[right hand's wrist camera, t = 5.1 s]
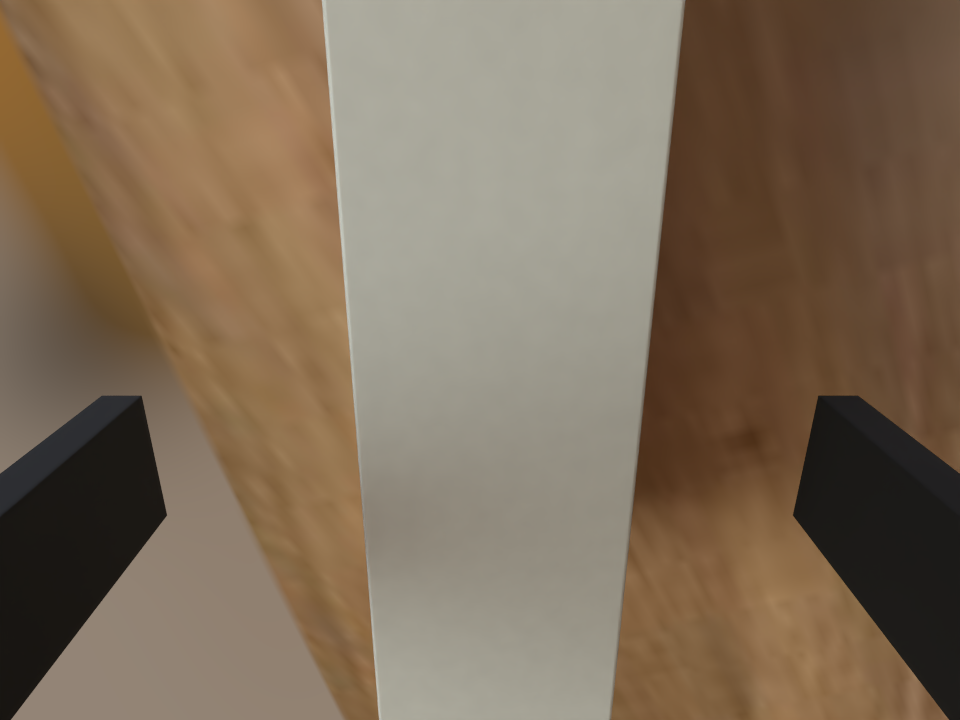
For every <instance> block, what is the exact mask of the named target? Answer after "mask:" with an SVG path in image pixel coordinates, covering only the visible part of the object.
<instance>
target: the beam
mask: <svg viewBox="0 0 960 720" xmlns="http://www.w3.org/2000/svg"><path fill="white" fill-rule="evenodd" d="M322 7H323V19H324V32H325V44H326V57H327V69H328V82H329V95H330V107H331V120H332V132H333V145H334V158H335V170H336V183H337V195H338V208H339V220H340V233H341V246H342V258H343V271H344V283H345V296H346V308H347V321H348V334H349V346H350V359H351V371H352V384H353V396H354V409H355V422H356V434H357V447H358V459H359V472H360V485H361V497H362V510H363V522H364V535H365V547H366V560H367V573H368V585H369V598H370V610H371V623H372V635H373V648H374V661H375V673H376V686H377V698H378V711H379V720H611V715H612V705H613V695H614V686H615V676H616V666H617V657H618V647H619V637H620V628H621V618H622V608H623V599H624V589H625V579H626V570H627V560H628V550H629V541H630V531H631V521H632V512H633V502H634V492H635V483H636V473H637V463H638V454H639V444H640V434H641V425H642V415H643V405H644V396H645V386H646V376H647V367H648V357H649V347H650V338H651V328H652V318H653V309H654V299H655V289H656V280H657V270H658V260H659V251H660V241H661V231H662V222H663V212H664V203H665V193H666V183H667V174H668V164H669V154H670V145H671V135H672V125H673V116H674V106H675V96H676V87H677V77H678V67H679V58H680V48H681V38H682V29H683V19H684V9H685V0H322Z"/></svg>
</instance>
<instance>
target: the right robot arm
mask: <svg viewBox="0 0 960 720" xmlns="http://www.w3.org/2000/svg"><path fill="white" fill-rule="evenodd" d="M166 516H167V513H166V509H165V504H164V499H163V494H162V490H161V485H160V480H159V476H158V471H157V467H156V462H155V457H154V452H153V447H152V443H151V438H150V433H149V429H148V424H147V419H146V415H145V410H144V405H143V400H142V396H101V397H100V398H98V399H97V400H96V401H95V402H93V403H92V404H91V405H89V406H88V407H87V408H85V409H84V410H83V411H82V412H80V413H79V414H78V415H76V416H75V417H74V418H72V419H71V420H70V421H68V422H67V423H66V424H65V425H63V426H62V427H61V428H59V429H58V430H57V431H55V432H54V433H53V434H52V435H50V436H49V437H48V438H46V439H45V440H44V441H42V442H41V443H40V444H39V445H37V446H36V447H35V448H33V449H32V450H31V451H29V452H28V453H27V454H25V455H24V456H23V457H22V458H20V459H19V460H18V461H16V462H15V463H14V464H12V465H11V466H10V467H9V468H7V469H6V470H5V471H3V472H2V473H1V474H0V720H11V719H12V717H13V716H14V715H15V714H16V712H17V711H18V710H19V708H20V707H21V706H22V704H23V703H24V702H25V700H26V699H27V698H28V697H29V695H30V694H31V693H32V691H33V690H34V689H35V687H36V686H37V685H38V683H39V682H40V681H41V680H42V678H43V677H44V676H45V674H46V673H47V672H48V670H49V669H50V668H51V666H52V665H53V664H54V663H55V661H56V660H57V659H58V657H59V656H60V655H61V653H62V652H63V651H64V649H65V648H66V647H67V645H68V644H69V643H70V642H71V640H72V639H73V638H74V636H75V635H76V634H77V632H78V631H79V630H80V629H81V627H82V626H83V624H84V623H85V622H86V621H87V619H88V618H89V617H90V615H91V614H92V613H93V611H94V610H95V609H96V608H97V606H98V605H99V604H100V602H101V601H102V600H103V598H104V597H105V596H106V594H107V593H108V592H109V591H110V589H111V588H112V587H113V585H114V584H115V583H116V581H117V580H118V579H119V577H120V576H121V575H122V574H123V572H124V571H125V570H126V568H127V567H128V566H129V564H130V563H131V562H132V560H133V559H134V558H135V557H136V555H137V554H138V553H139V551H140V550H141V549H142V547H143V546H144V545H145V543H146V542H147V541H148V540H149V538H150V537H151V536H152V534H153V533H154V532H155V530H156V529H157V528H158V526H159V525H160V524H161V523H162V521H163V520H164V519H165V517H166ZM793 516H794V517H795V519H796V520H797V521H798V523H799V524H800V525H801V526H802V528H803V529H804V530H805V532H806V533H807V534H808V536H809V537H810V538H811V540H812V541H813V542H814V543H815V545H816V546H817V547H818V549H819V550H820V551H821V553H822V554H823V555H824V557H825V558H826V559H827V560H828V562H829V563H830V564H831V566H832V567H833V568H834V570H835V571H836V572H837V574H838V575H839V576H840V577H841V579H842V580H843V581H844V583H845V584H846V585H847V587H848V588H849V589H850V591H851V592H852V593H853V594H854V596H855V597H856V598H857V600H858V601H859V602H860V604H861V605H862V606H863V608H864V609H865V610H866V612H867V613H868V614H869V615H870V617H871V618H872V619H873V621H874V622H875V623H876V625H877V626H878V627H879V629H880V630H881V631H882V632H883V634H884V635H885V636H886V638H887V639H888V640H889V642H890V643H891V644H892V646H893V647H894V648H895V649H896V651H897V652H898V653H899V655H900V656H901V657H902V659H903V660H904V661H905V663H906V664H907V665H908V666H909V668H910V669H911V670H912V672H913V673H914V674H915V676H916V677H917V678H918V680H919V681H920V682H921V683H922V685H923V686H924V687H925V689H926V690H927V691H928V693H929V694H930V695H931V697H932V698H933V699H934V700H935V702H936V703H937V704H938V706H939V707H940V708H941V710H942V711H943V712H944V714H945V715H946V716H947V717H948V719H949V720H960V474H959V473H958V472H957V471H955V470H954V469H953V468H951V467H950V466H949V465H948V464H946V463H945V462H944V461H942V460H941V459H940V458H938V457H937V456H936V455H935V454H933V453H932V452H931V451H929V450H928V449H927V448H925V447H924V446H923V445H922V444H920V443H919V442H918V441H916V440H915V439H914V438H912V437H911V436H910V435H908V434H907V433H906V432H905V431H903V430H902V429H901V428H899V427H898V426H897V425H895V424H894V423H893V422H892V421H890V420H889V419H888V418H886V417H885V416H884V415H882V414H881V413H880V412H878V411H877V410H876V409H875V408H873V407H872V406H871V405H869V404H868V403H867V402H865V401H864V400H863V399H862V398H860V397H859V396H818V400H817V405H816V410H815V415H814V419H813V424H812V429H811V433H810V438H809V443H808V447H807V452H806V457H805V462H804V466H803V471H802V476H801V480H800V485H799V490H798V494H797V499H796V504H795V509H794V513H793Z"/></svg>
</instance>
